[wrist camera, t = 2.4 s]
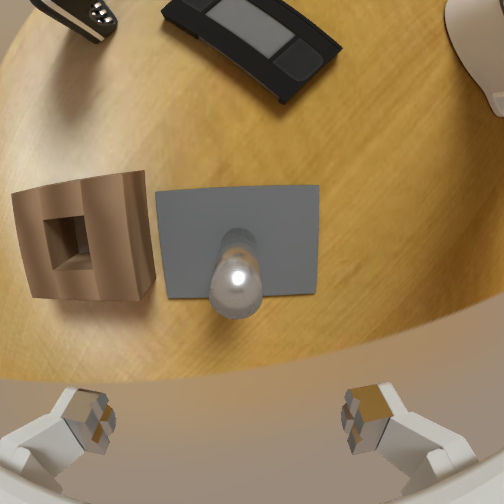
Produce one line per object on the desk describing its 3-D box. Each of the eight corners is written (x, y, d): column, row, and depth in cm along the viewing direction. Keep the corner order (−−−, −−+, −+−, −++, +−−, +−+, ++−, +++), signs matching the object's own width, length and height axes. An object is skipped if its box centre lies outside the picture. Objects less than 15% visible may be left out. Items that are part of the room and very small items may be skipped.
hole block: (144, 170, 24) (122, 174, 19) (156, 277, 27) (139, 301, 22) (41, 186, 24) (11, 193, 19) (57, 278, 27) (32, 297, 22)
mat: (317, 185, 25) (319, 185, 25) (314, 291, 28) (315, 293, 28) (156, 191, 25) (155, 192, 24) (168, 296, 28) (168, 298, 27)
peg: (255, 227, 26) (262, 269, 16) (256, 260, 26) (263, 318, 17) (220, 228, 26) (206, 271, 16) (222, 261, 26) (211, 319, 17)
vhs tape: (282, 106, 23) (285, 102, 21) (164, 19, 20) (159, 11, 18) (336, 54, 22) (343, 48, 20) (220, -27, 18) (218, -37, 17)
